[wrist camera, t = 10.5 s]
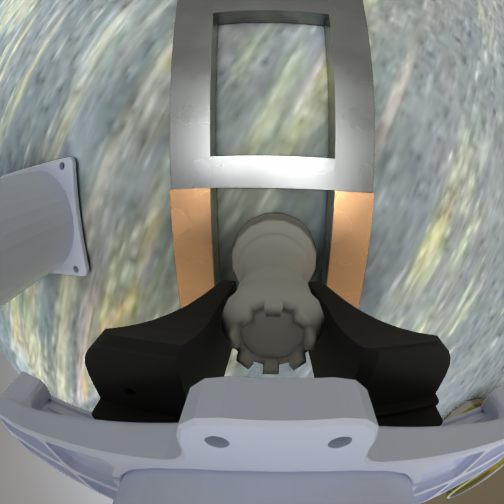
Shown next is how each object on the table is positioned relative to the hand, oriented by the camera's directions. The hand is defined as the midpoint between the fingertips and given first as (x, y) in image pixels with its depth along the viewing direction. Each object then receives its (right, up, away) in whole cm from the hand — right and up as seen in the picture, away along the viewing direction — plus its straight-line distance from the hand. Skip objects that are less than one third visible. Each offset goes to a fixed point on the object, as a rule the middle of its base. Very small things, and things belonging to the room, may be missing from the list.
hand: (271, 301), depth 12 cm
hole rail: (0, +11, 0) cm, 11 cm away
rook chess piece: (0, +2, +3) cm, 4 cm away
